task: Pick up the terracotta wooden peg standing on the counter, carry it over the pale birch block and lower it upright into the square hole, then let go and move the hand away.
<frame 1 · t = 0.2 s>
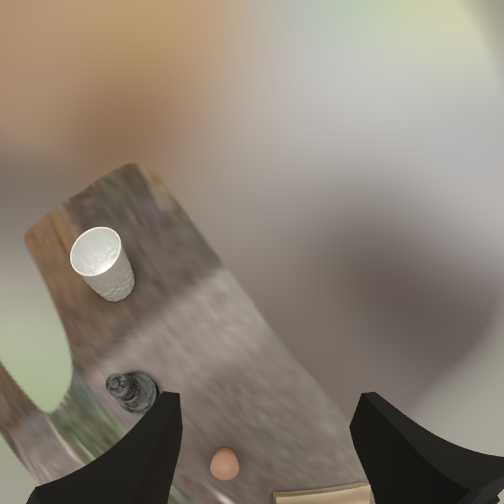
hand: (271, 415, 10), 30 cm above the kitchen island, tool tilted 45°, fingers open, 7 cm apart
chess piece: (142, 394, 36), on the kitchen island
white cup: (116, 283, 45), on the kitchen island
peg: (225, 457, 33), on the kitchen island
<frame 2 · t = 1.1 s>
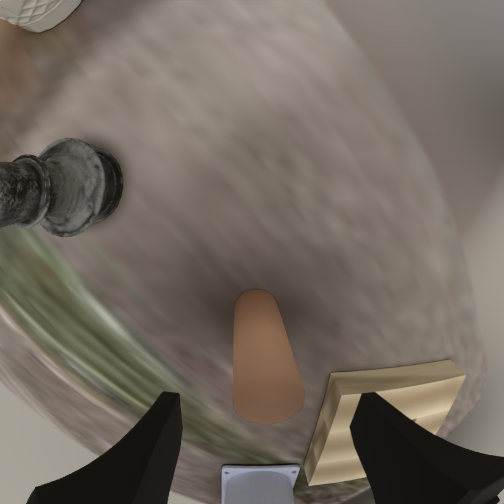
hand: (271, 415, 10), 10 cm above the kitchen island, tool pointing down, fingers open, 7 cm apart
chess piece: (90, 185, 18), on the kitchen island
white cup: (57, 3, 14), on the kitchen island
peg: (255, 309, 20), on the kitchen island
socket block: (378, 419, 24), on the kitchen island
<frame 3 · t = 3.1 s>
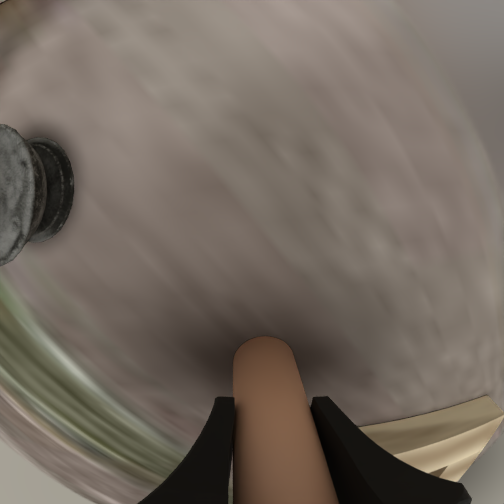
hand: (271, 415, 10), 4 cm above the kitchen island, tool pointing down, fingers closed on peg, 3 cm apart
chess piece: (35, 189, 12), on the kitchen island
peg: (263, 362, 14), on the kitchen island, touching gripper
socket block: (402, 464, 18), on the kitchen island
when the fingers open (5 cm above the kitchen island, at t = 8.0 s): peg drops 1 cm, resting in socket block.
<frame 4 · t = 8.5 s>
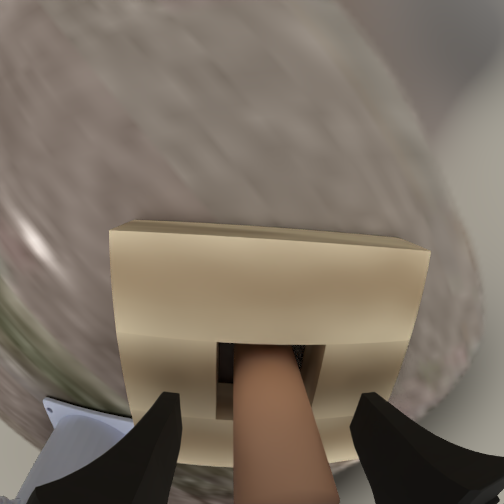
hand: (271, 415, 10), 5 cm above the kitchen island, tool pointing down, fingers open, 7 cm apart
peg: (262, 350, 15), resting in socket block
socket block: (262, 351, 15), on the kitchen island
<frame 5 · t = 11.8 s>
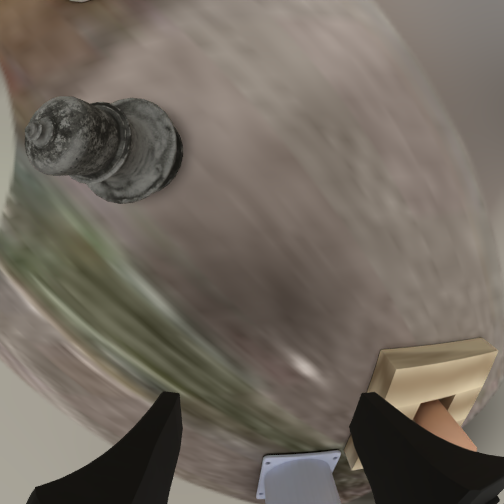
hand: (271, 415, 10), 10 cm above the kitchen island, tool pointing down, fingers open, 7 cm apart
chess piece: (144, 154, 18), on the kitchen island
peg: (417, 397, 24), resting in socket block
socket block: (417, 398, 24), on the kitchen island
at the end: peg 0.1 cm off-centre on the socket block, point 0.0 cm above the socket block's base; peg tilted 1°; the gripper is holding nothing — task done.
